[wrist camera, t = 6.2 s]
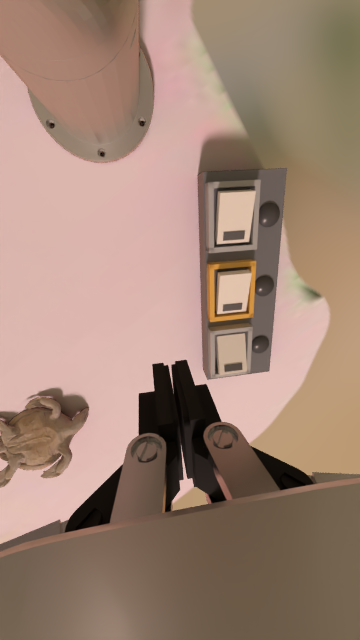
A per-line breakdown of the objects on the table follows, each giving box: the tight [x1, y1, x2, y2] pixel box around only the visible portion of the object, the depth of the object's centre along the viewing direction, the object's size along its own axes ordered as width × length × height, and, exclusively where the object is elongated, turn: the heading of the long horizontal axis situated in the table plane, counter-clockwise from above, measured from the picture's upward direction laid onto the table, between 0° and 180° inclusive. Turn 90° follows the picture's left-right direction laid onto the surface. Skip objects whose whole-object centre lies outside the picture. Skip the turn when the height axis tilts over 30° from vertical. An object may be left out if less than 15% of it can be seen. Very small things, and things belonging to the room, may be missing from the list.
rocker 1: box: [215, 190, 256, 244], centre depth 30 cm, size 6×4×1 cm
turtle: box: [0, 397, 89, 488], centre depth 39 cm, size 16×10×10 cm, turn 129°
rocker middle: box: [215, 270, 252, 314], centre depth 33 cm, size 6×4×1 cm
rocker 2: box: [215, 332, 247, 375], centre depth 37 cm, size 6×4×1 cm
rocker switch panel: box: [198, 168, 287, 380], centre depth 36 cm, size 28×10×4 cm, turn 3°
